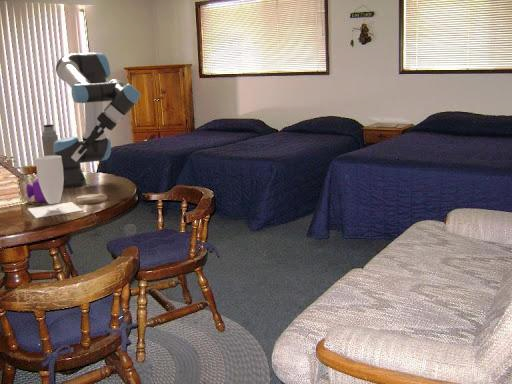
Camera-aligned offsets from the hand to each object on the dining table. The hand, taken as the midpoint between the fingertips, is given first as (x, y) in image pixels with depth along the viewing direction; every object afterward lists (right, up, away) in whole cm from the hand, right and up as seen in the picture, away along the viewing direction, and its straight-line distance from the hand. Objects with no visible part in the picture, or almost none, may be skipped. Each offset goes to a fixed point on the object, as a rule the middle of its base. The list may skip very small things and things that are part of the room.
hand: (75, 157), depth 224 cm
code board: (-9, -21, +3) cm, 23 cm away
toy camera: (-21, -18, +21) cm, 35 cm away
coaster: (+1, -18, +17) cm, 25 cm away
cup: (-9, -21, +3) cm, 23 cm away
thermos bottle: (-37, -6, +77) cm, 86 cm away
